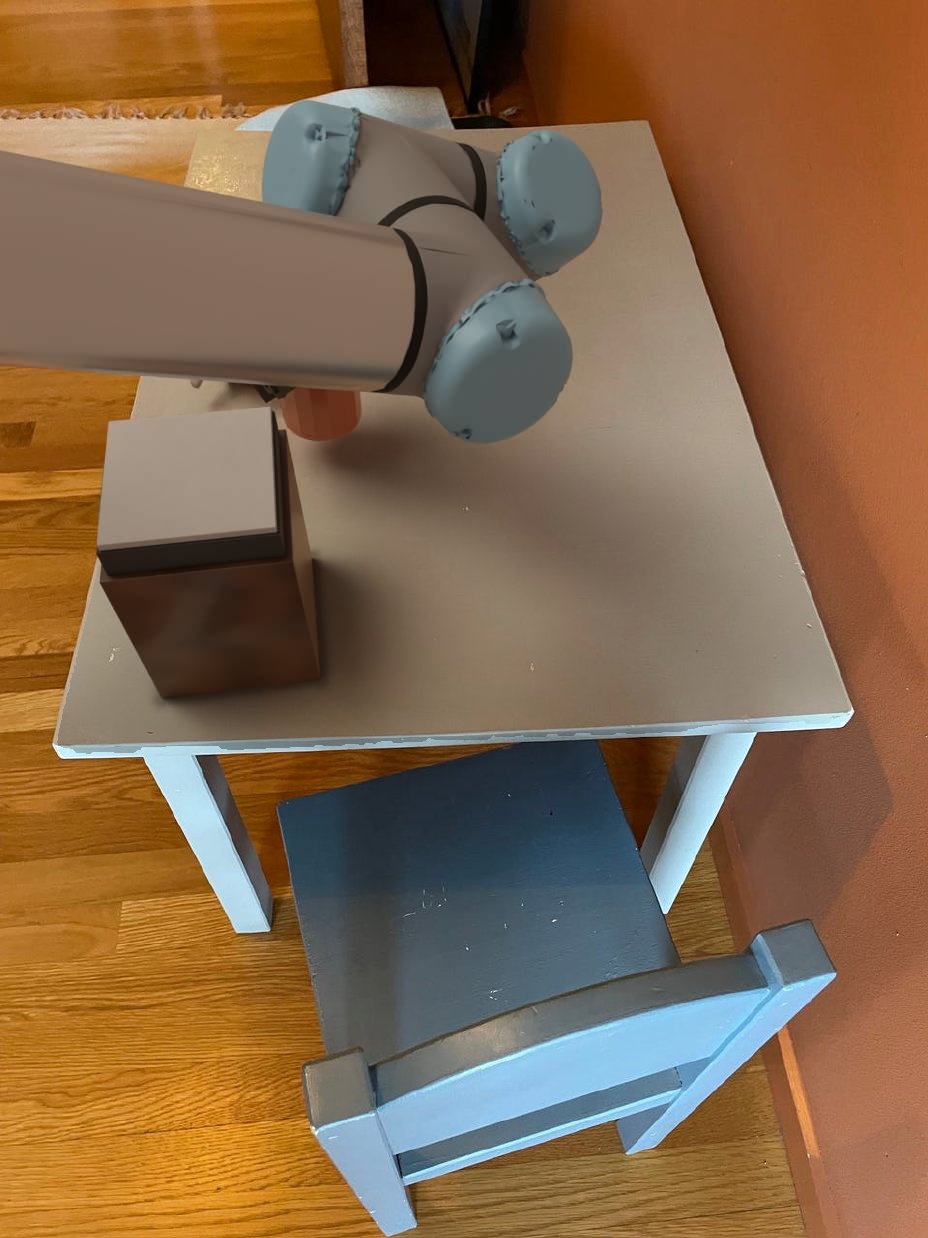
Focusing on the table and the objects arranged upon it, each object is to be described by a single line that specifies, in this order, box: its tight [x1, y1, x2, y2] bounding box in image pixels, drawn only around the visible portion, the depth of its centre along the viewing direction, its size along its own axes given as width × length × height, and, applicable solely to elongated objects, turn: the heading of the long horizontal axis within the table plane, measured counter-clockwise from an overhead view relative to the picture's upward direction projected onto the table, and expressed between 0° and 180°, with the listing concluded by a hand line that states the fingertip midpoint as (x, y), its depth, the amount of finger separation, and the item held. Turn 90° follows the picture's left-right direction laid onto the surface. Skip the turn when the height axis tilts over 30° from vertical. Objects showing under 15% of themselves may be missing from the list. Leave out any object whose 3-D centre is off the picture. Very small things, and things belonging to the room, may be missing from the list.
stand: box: [99, 428, 321, 699], centre depth 72 cm, size 13×13×16 cm
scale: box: [95, 406, 286, 575], centre depth 64 cm, size 12×12×3 cm
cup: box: [279, 387, 363, 442], centre depth 81 cm, size 7×7×12 cm
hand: (290, 364), depth 84 cm, fingers closed on cup, 7 cm apart
